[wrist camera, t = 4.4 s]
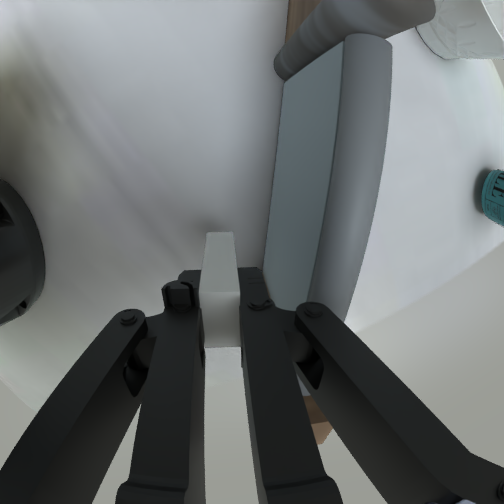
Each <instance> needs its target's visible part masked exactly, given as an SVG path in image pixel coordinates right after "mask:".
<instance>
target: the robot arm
mask: <svg viewBox="0 0 504 504" xmlns="http://www.w3.org/2000/svg"><path fill="white" fill-rule="evenodd" d="M44 278H45V262H44V254H43V249H42V244H41V240H40V237H39V233H38V230H37V228H36V225H35V222H34V220H33V218H32V216H31V214H30V212H29V210H28V208H27V206H26V205H25V203H24V201H23V200H22V198H21V197H20V196H19V194H18V193H17V192H16V191H15V190H14V189H13V188H12V187H11V186H10V185H9V184H7V183H6V182H4V181H3V180H1V179H0V326H2V325H4V324H6V323H8V322H9V321H11V320H13V319H15V318H17V317H19V316H21V315H23V314H24V313H25V312H27V311H28V310H29V308H30V307H31V306H32V305H33V304H34V302H35V301H36V300H37V299H38V297H39V296H40V294H41V291H42V288H43V285H44ZM161 290H162V295H163V301H164V306H165V309H164V312H163V313H161V314H158V315H155V316H150V317H145V314H144V313H143V312H142V311H141V310H138V309H126V310H123V311H121V312H119V313H117V314H116V315H115V316H114V317H113V318H112V319H111V320H110V322H109V323H108V324H107V325H106V326H105V327H104V329H103V330H102V331H101V332H100V333H99V335H98V336H97V337H96V338H95V339H94V341H93V342H92V343H91V344H90V345H89V347H88V348H87V349H86V350H85V351H84V353H83V354H82V355H81V356H80V358H79V359H78V360H77V361H76V363H75V364H74V365H73V366H72V368H71V369H70V370H69V372H68V373H67V374H66V375H65V377H64V378H63V379H62V381H61V382H60V383H59V384H58V386H57V387H56V388H55V390H54V391H53V392H52V394H51V395H50V396H49V398H48V399H47V401H46V402H45V403H44V405H43V406H42V407H41V409H40V410H39V412H38V413H37V415H36V416H35V417H34V419H33V420H32V422H31V423H30V425H29V426H28V427H27V429H26V430H25V432H24V433H23V435H22V436H21V438H20V440H19V441H18V443H17V444H16V446H15V447H14V449H13V450H12V452H11V454H10V455H9V457H8V458H7V460H6V462H5V464H4V465H3V467H2V468H1V470H0V504H92V502H93V500H94V498H95V496H96V493H97V491H98V489H99V487H100V485H101V483H102V481H103V479H104V477H105V474H106V472H107V470H108V468H109V466H110V464H111V462H112V460H113V458H114V456H115V454H116V452H117V450H118V448H119V445H120V444H121V442H122V439H123V438H124V436H125V434H126V432H127V429H128V428H129V426H130V423H131V422H132V420H133V418H134V416H135V414H136V412H137V410H138V408H139V406H140V404H141V408H140V413H139V419H138V424H137V430H136V435H135V441H134V447H133V454H132V460H131V467H130V474H129V478H128V480H127V481H126V482H124V483H122V484H121V485H120V487H119V488H118V491H117V495H116V501H115V504H206V499H205V468H204V467H205V466H204V392H205V350H204V342H205V348H215V347H240V346H241V367H242V368H243V378H244V386H245V396H246V405H247V414H248V423H249V431H250V439H251V448H252V456H253V463H254V471H255V479H256V486H257V494H258V500H259V504H343V502H342V498H341V495H340V492H339V489H338V487H337V484H336V483H335V481H334V480H333V479H332V478H331V477H329V476H328V475H327V474H326V472H325V470H324V467H323V464H322V460H321V456H320V453H319V450H318V446H317V443H316V439H315V436H314V432H313V429H312V426H311V422H310V419H309V415H308V412H307V409H306V405H305V402H304V398H303V395H302V392H301V388H300V385H299V382H298V378H297V375H298V377H299V378H300V380H301V381H302V383H303V384H304V386H305V387H306V389H307V390H308V392H309V393H310V395H311V396H312V398H313V399H314V401H315V402H316V404H317V405H318V407H319V408H320V410H321V411H322V413H323V414H324V416H325V417H326V419H327V420H328V421H329V423H330V424H331V426H332V427H333V429H334V430H335V431H336V433H337V434H338V436H339V437H340V438H341V440H342V442H343V443H344V444H345V446H346V447H347V448H348V450H349V451H350V453H351V454H352V456H353V457H354V458H355V460H356V461H357V463H358V464H359V465H360V467H361V468H362V470H363V471H364V472H365V474H366V475H367V476H368V478H369V479H370V481H371V482H372V483H373V485H374V486H375V487H376V489H377V490H378V491H379V493H380V494H381V495H382V497H383V498H384V499H385V501H386V502H387V503H388V504H504V468H503V467H501V466H498V465H496V464H494V463H492V462H489V461H487V460H485V459H483V458H481V457H478V456H476V455H474V454H472V453H470V452H469V451H468V450H467V449H466V447H465V446H464V445H463V444H462V443H461V442H460V441H459V440H458V439H457V438H456V437H455V436H454V435H453V434H452V433H451V432H450V430H449V429H448V428H447V427H446V426H445V425H444V424H443V423H442V422H441V421H440V420H439V419H438V418H437V417H436V416H435V415H434V414H433V413H432V412H431V411H430V410H429V409H428V408H427V407H426V406H425V404H424V403H423V402H422V401H421V400H420V399H419V398H418V397H417V396H416V395H415V394H414V393H413V392H412V391H411V390H410V389H409V388H408V387H407V386H406V385H405V384H404V383H403V382H402V381H401V380H400V379H399V378H398V377H397V376H396V375H395V374H394V373H393V372H392V371H391V370H390V369H389V368H388V367H387V366H386V365H385V364H384V363H383V362H382V361H381V360H380V359H379V358H378V357H377V356H376V355H375V354H374V353H373V352H372V351H371V350H370V349H369V348H368V347H367V345H366V344H365V343H364V342H362V340H361V339H360V338H359V337H358V336H357V335H355V334H354V333H353V332H352V331H351V330H350V329H349V328H348V327H347V326H346V325H345V324H344V323H343V322H342V321H341V320H340V319H339V318H338V317H337V316H336V315H335V314H334V313H333V312H332V311H331V310H330V309H329V308H328V307H327V306H325V305H324V304H321V303H318V302H304V303H302V304H299V305H298V306H297V307H296V311H291V310H285V309H281V308H278V307H276V305H275V303H274V301H273V300H272V299H270V298H269V295H268V291H267V288H266V284H265V281H264V277H263V274H262V272H261V271H260V270H259V269H258V268H257V267H247V268H237V262H236V254H235V245H234V236H233V232H207V237H206V243H205V250H204V257H203V264H202V270H184V271H183V272H182V273H181V274H180V275H179V277H178V280H176V281H172V282H169V283H167V284H166V285H164V286H163V288H162V289H161ZM296 374H297V375H296ZM141 402H142V403H141Z"/></svg>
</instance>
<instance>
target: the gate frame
mask: <svg viewBox="0 0 504 504" xmlns="http://www.w3.org/2000/svg"><path fill="white" fill-rule="evenodd" d="M435 13H436V6H435V2H434V0H289V5H288V17H287V28H286V38H285V45H284V46H283V48H282V49H281V50H280V52H279V53H278V54H277V56H276V57H275V59H274V68H275V71H276V73H277V74H278V75H279V76H280V77H281V78H282V79H284V80H285V81H287V80H289V79H290V78H291V77H293V76H294V75H295V74H297V73H298V72H299V71H301V70H302V69H303V68H305V67H306V66H307V65H309V64H310V63H312V62H313V61H314V60H316V59H317V58H319V57H320V56H321V55H323V54H324V53H326V52H327V51H329V50H330V49H332V48H333V47H335V46H336V45H338V44H339V43H341V42H342V41H344V42H345V38H346V37H347V36H348V35H351V34H357V33H363V34H370V35H375V36H378V37H381V38H383V39H386V38H388V37H391V36H393V35H395V34H398V33H400V32H403V31H405V30H408V29H410V28H413V27H416V26H418V25H421V24H424V23H427V22H430V21H431V20H432V19H433V18H434V16H435ZM303 398H304V402H305V405H306V409H307V412H308V415H309V419H310V422H311V426H312V429H313V432H314V436H315V439H316V443H317V445H318V444H322V443H323V442H324V440H325V439H326V438H327V436H328V435H329V433H330V431H331V430H332V429H333V427H332V426H331V424H330V423H329V421H328V420H327V419H326V417H325V416H324V414H323V413H322V411H321V410H320V408H319V407H318V405H317V404H316V402H315V401H314V399H313V398H312V396H311V395H309V396H303Z"/></svg>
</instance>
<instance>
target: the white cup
mask: <svg viewBox="0 0 504 504" xmlns="http://www.w3.org/2000/svg"><path fill="white" fill-rule="evenodd" d="M434 2H435V6H436V13H435V16H434V18H433V19H432V20H431V21H430V22H427V23H424V24H421V25H418V26H416V28H417V31H418V32H419V34H420V36H421V37H422V39H423V41H424V42H425V44H426V45H427V46H428V47H429V48H430V49H431V50H432V51H433V52H434V53H435V54H437V55H439V56H440V57H442V58H444V59H460V58H465V59H504V0H434Z"/></svg>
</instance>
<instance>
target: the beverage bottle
mask: <svg viewBox="0 0 504 504" xmlns="http://www.w3.org/2000/svg"><path fill="white" fill-rule="evenodd" d="M482 208H483V212H484V214H485V215H486V216H487V217H488V218H489V219H491V220H493V221H495V222H497V223H498V225H499V224H501V225H502V226H504V170H503V171H501V170H498V169H497V170H493V171H491V172H490V173H489V174H488V176H487V178H486V180H485V182H484V185H483V190H482ZM501 225H500V226H501Z"/></svg>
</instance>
